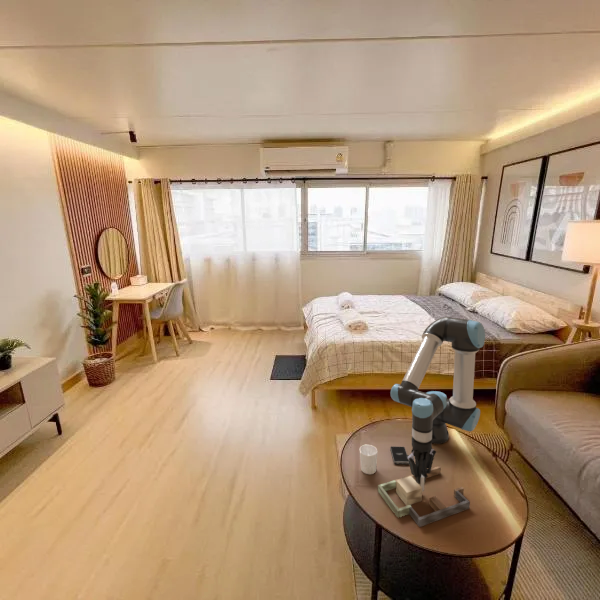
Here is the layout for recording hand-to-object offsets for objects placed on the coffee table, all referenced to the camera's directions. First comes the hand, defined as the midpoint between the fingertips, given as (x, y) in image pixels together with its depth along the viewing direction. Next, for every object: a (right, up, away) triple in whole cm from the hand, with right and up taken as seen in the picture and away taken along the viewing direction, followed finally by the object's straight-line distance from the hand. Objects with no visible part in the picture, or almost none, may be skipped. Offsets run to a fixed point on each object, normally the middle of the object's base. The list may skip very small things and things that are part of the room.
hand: (420, 489), depth 133 cm
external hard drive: (-2, +2, +23) cm, 23 cm away
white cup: (-18, 0, +16) cm, 24 cm away
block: (-5, -3, -1) cm, 6 cm away
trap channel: (+1, -2, -2) cm, 4 cm away
